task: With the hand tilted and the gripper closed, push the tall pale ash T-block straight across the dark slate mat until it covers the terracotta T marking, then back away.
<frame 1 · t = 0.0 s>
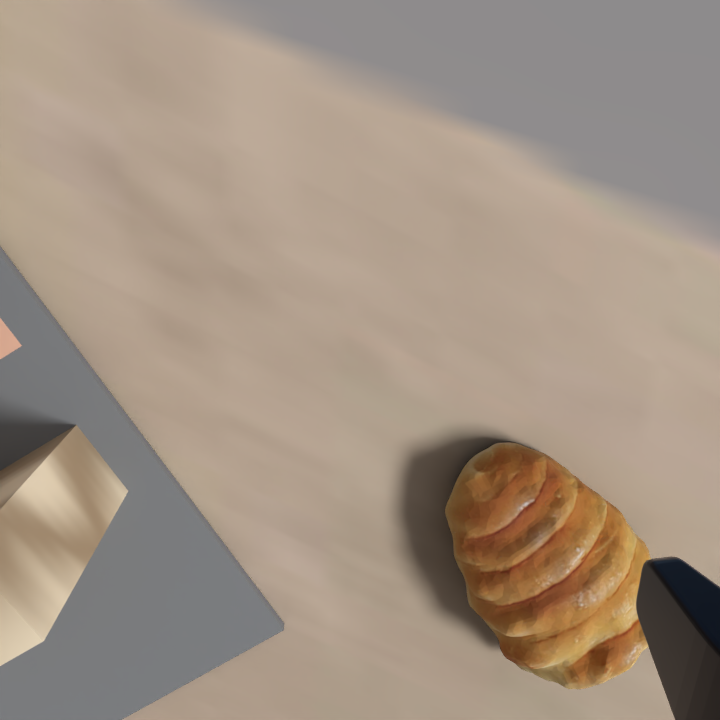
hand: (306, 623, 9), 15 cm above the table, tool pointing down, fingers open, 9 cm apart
pastry: (534, 549, 27), on the table
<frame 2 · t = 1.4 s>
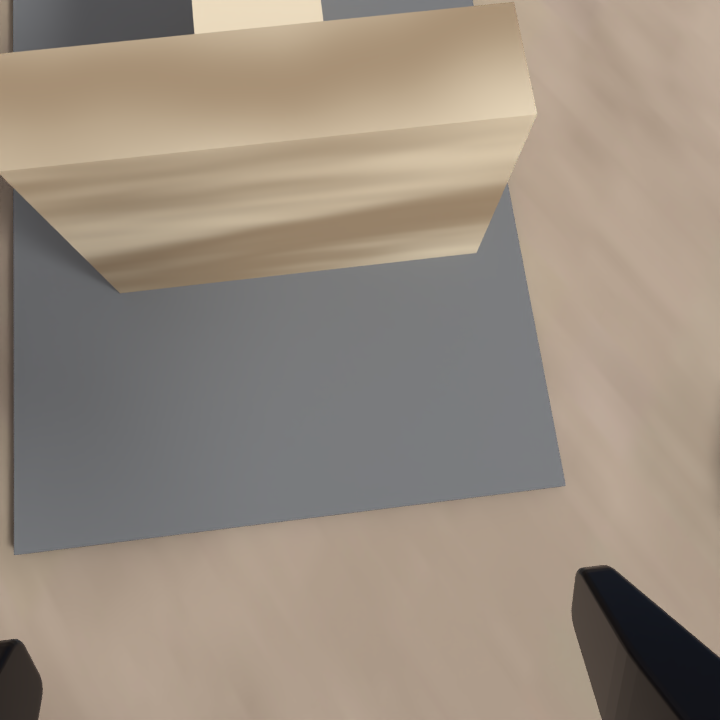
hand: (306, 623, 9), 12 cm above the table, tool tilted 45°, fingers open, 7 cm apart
t block: (295, 232, 23), resting on mat
mat: (259, 155, 24), on the table
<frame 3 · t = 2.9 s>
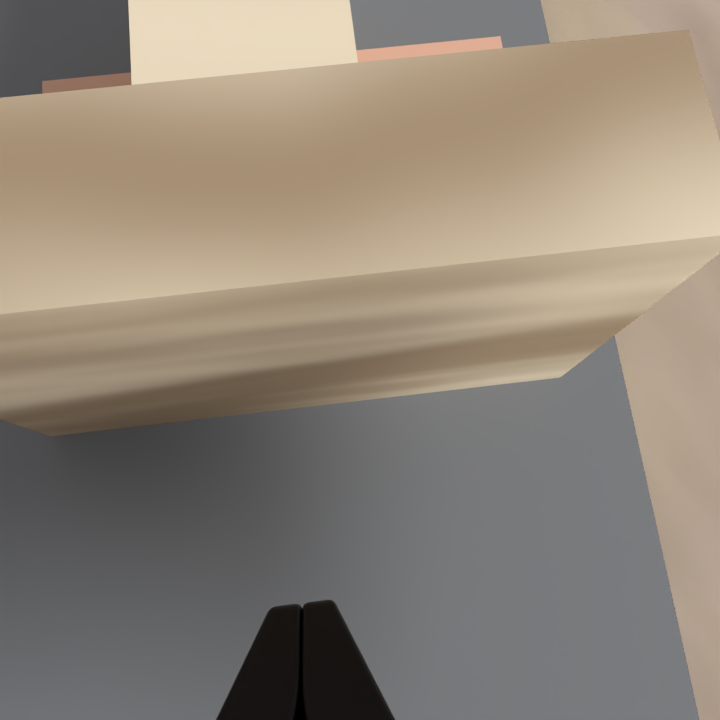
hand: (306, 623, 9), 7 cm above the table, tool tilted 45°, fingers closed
t block: (302, 345, 16), resting on mat
mat: (253, 233, 18), on the table
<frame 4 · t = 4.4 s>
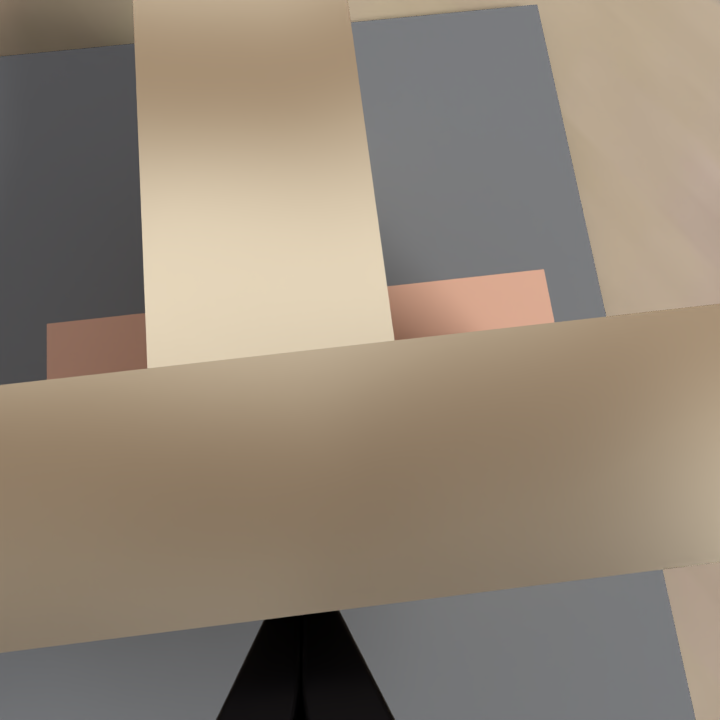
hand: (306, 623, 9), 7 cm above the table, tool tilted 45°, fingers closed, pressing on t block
t block: (319, 509, 16), resting on mat, touching gripper
mat: (277, 499, 16), on the table
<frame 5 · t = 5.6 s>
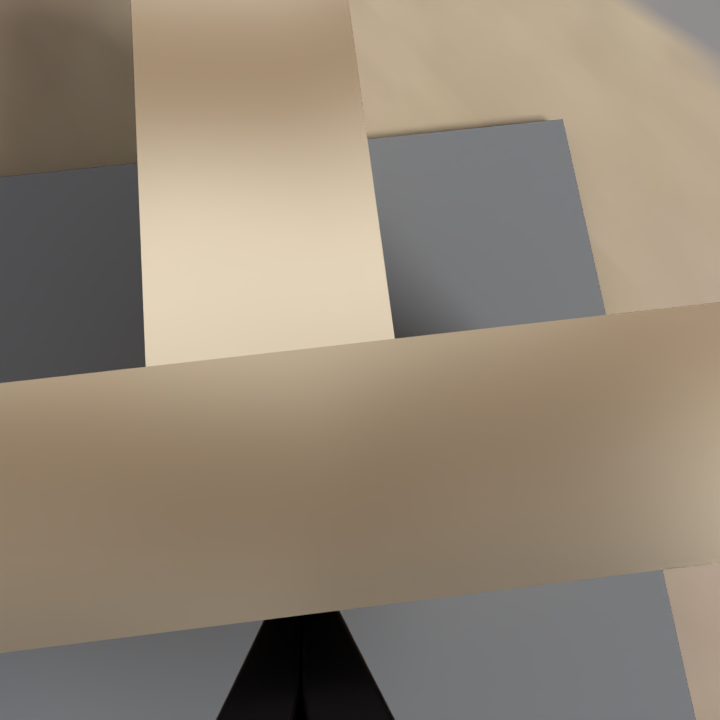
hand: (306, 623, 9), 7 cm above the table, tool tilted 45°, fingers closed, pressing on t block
t block: (319, 508, 16), resting on mat, touching gripper
mat: (290, 672, 15), on the table
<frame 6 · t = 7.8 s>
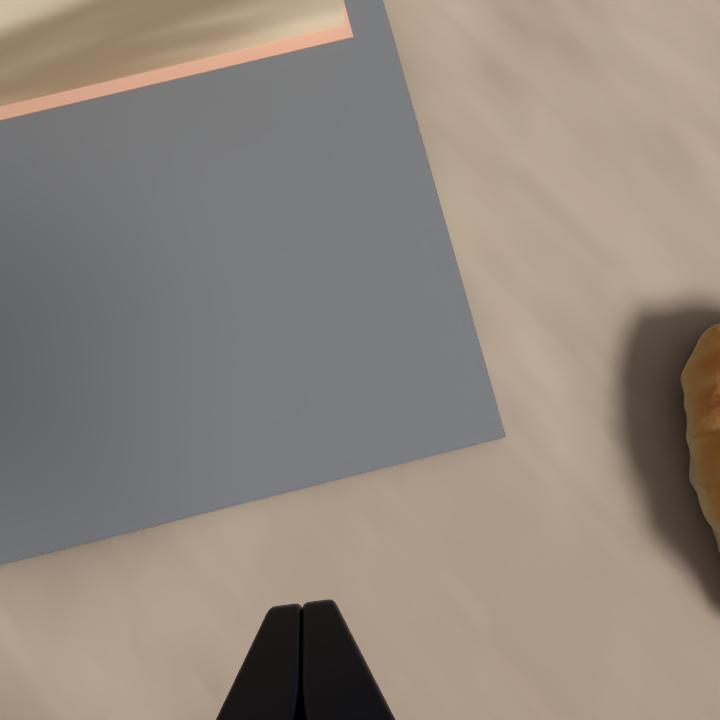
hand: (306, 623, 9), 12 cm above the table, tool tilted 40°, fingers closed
t block: (163, 26, 23), resting on mat
mat: (157, 131, 23), on the table
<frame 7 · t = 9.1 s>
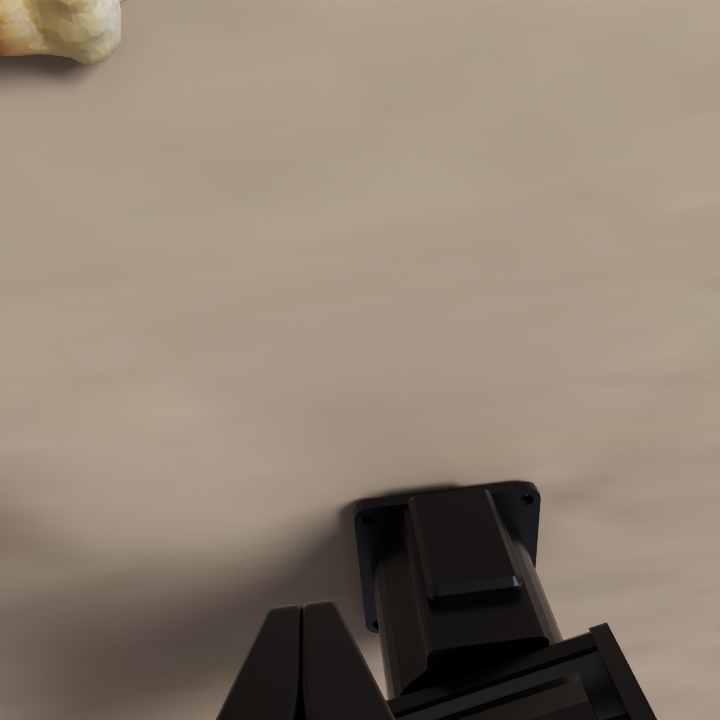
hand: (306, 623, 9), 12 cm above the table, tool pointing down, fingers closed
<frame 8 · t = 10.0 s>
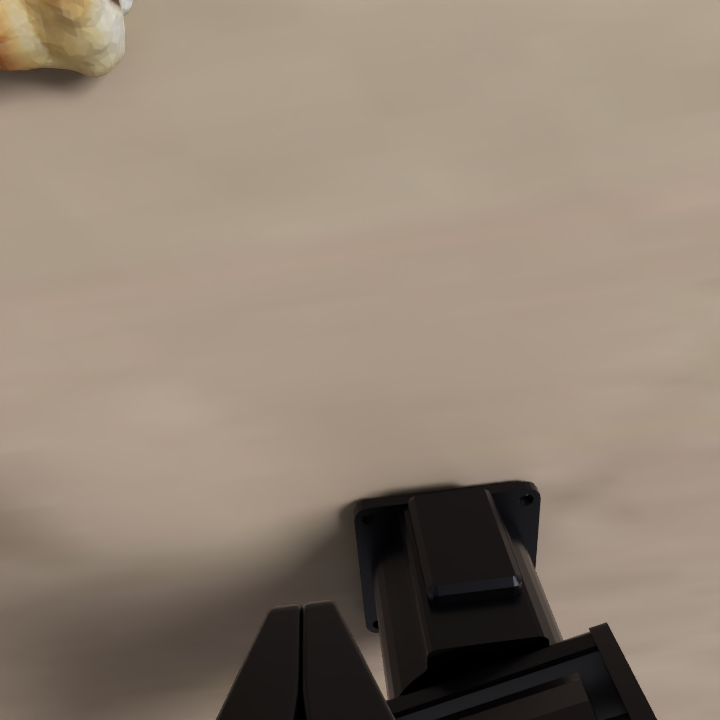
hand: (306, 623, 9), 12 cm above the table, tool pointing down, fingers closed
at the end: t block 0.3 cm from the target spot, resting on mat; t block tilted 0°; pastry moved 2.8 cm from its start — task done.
